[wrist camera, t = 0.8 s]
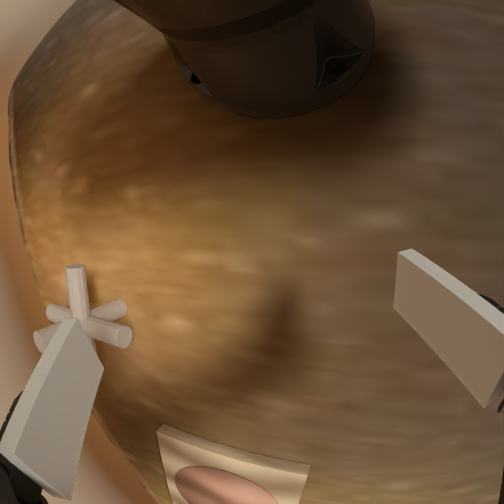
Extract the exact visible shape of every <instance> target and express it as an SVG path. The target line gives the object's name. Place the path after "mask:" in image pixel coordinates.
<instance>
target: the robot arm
mask: <svg viewBox="0 0 504 504" xmlns="http://www.w3.org/2000/svg"><path fill="white" fill-rule="evenodd" d="M113 1H115V2H116V3H118V4H120V5H121V6H123V7H124V8H126V9H128V10H129V11H131V12H132V13H134V14H135V15H137V16H138V17H140V18H141V19H143V20H145V21H146V22H147V23H149V24H151V25H152V26H153V27H155V28H156V29H158V30H159V31H160V32H161V33H162V34H163V36H164V38H165V40H166V41H167V43H168V45H169V47H170V49H171V51H172V53H173V55H174V57H175V59H176V61H177V63H178V65H179V67H180V70H181V71H182V73H183V75H184V76H185V78H186V79H187V80H188V82H189V83H190V84H191V85H192V86H193V87H194V88H195V89H196V90H197V91H198V92H200V93H201V94H202V95H204V96H205V97H207V98H208V99H210V100H211V101H213V102H214V103H216V104H217V105H219V106H221V107H222V108H224V109H227V110H229V111H231V112H234V113H237V114H241V115H245V116H250V117H258V118H281V117H289V116H295V115H299V114H303V113H306V112H310V111H313V110H315V109H318V108H320V107H322V106H325V105H327V104H329V103H330V102H332V101H334V100H336V99H337V98H339V97H340V96H342V95H343V94H344V93H346V92H347V91H348V90H349V89H350V88H351V87H352V86H353V85H354V84H355V83H356V82H357V81H358V80H359V79H360V77H361V76H362V75H363V73H364V72H365V70H366V68H367V66H368V64H369V62H370V60H371V57H372V53H373V49H374V38H375V21H374V16H373V12H372V9H371V5H370V3H369V1H368V0H113ZM393 308H394V309H395V310H396V311H397V312H398V313H399V314H400V315H401V316H402V317H403V318H404V319H405V321H406V322H407V323H408V324H409V325H410V326H411V327H412V328H413V329H414V330H415V331H416V332H417V333H418V334H419V335H420V336H421V337H422V339H423V340H424V341H425V342H426V343H427V344H428V345H429V346H430V347H431V348H432V349H433V350H434V352H435V353H436V354H437V355H438V356H439V357H440V358H441V359H442V360H443V362H444V363H445V364H446V365H447V366H448V367H449V368H450V369H451V371H452V372H453V373H454V374H455V375H456V376H457V377H458V379H459V380H460V381H461V382H462V383H463V384H464V386H465V387H466V388H467V389H468V390H469V391H470V393H471V394H472V395H473V396H474V397H475V399H476V400H477V401H478V402H479V403H480V405H481V406H482V407H483V408H485V407H486V406H487V405H489V404H490V403H492V402H493V401H494V400H496V399H497V398H498V397H499V395H500V393H501V391H502V390H503V388H504V308H502V307H500V305H499V304H497V303H496V302H495V301H493V300H492V299H491V298H488V297H486V296H483V295H481V294H477V293H475V292H474V291H473V290H471V289H470V288H469V287H467V286H466V285H465V284H463V283H462V282H460V281H459V280H458V279H456V278H455V277H453V276H452V275H450V274H449V273H448V272H446V271H445V270H443V269H442V268H440V267H439V266H437V265H436V264H434V263H433V262H432V261H430V260H429V259H427V258H426V257H424V256H423V255H421V254H420V253H418V252H416V251H415V250H413V249H408V250H404V251H400V252H398V256H397V273H396V285H395V296H394V306H393ZM103 371H104V367H103V365H102V363H101V362H100V360H99V358H98V356H97V354H96V353H95V351H94V349H93V347H92V345H91V343H90V341H89V339H88V337H87V335H86V333H85V331H84V329H83V327H82V325H81V323H80V321H79V319H78V318H71V319H64V320H63V321H62V322H61V324H60V326H59V327H58V329H57V331H56V332H55V334H54V336H53V337H52V339H51V341H50V342H49V344H48V346H47V348H46V349H45V351H44V353H43V355H42V357H41V359H40V360H39V362H38V364H37V366H36V368H35V369H34V371H33V373H32V375H31V377H30V379H29V381H28V383H27V385H26V387H25V389H24V390H23V391H22V392H21V393H20V394H19V395H18V397H17V398H16V399H15V400H14V402H13V404H12V406H11V408H10V410H9V411H10V413H8V415H7V417H6V421H4V423H3V426H2V428H1V430H0V504H48V502H47V500H46V499H45V498H44V496H42V495H41V492H42V489H44V490H45V491H46V492H48V493H49V494H51V495H52V496H54V497H58V498H63V499H67V500H71V497H72V491H73V486H74V481H75V476H76V471H77V466H78V462H79V457H80V453H81V449H82V444H83V440H84V436H85V432H86V428H87V425H88V421H89V417H90V414H91V410H92V407H93V403H94V400H95V396H96V393H97V390H98V386H99V383H100V380H101V377H102V374H103ZM503 407H504V399H503V401H502V402H501V404H500V406H499V407H498V412H499V413H500V412H501V410H502V408H503ZM503 413H504V412H503ZM498 504H504V469H503V477H502V484H501V491H500V497H499V503H498Z"/></svg>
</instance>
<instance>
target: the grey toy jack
mask: <svg viewBox="0 0 504 504" xmlns="http://www.w3.org/2000/svg"><path fill="white" fill-rule="evenodd" d="M65 272H66V282H67V290H68V298H69V305H70V308H68V307H65V306H62V305H59V304H56V303H51V304H50V305H48V307H47V309H46V316H47V318H48V319H49V320H50V321H52V322H54V323H55V324H53V325H50V326H48V327H45V328H43V329H40V330H38V331H35V332H34V334H33V336H34V337H33V338H34V342H35V345H36V347H37V348H38V350H39V351H40V352H41V353H42V354H43V353H44V351H45V349H46V348H47V346H48V344H49V342H50V341H51V339H52V337H53V336H54V334H55V332H56V331H57V329H58V327H59V326H60V324H61V322H62V321H63V320H64V319H71V318H78V319H79V321H80V323H81V325H82V327H83V329H84V331H85V333H86V335H87V337H88V339H89V341H90V343H91V345H92V347H93V349H94V351H95V353H96V354H97V349H96V343H95V339H96V340H99V341H102V342H105V343H107V344H110V345H113V346H116V347H119V348H122V349H124V348H127V347H128V346H129V345H130V343H131V340H132V331H131V328H129V327H128V326H126V325H122V324H119V323H115V322H113V321H116V320H118V319H120V318H122V317H124V316H125V315H126V314H127V307H126V304H125V303H124V302H123V301H122V300H121V299H116V300H113V301H111V302H108V303H106V304H103V305H101V306H98V307H96V308H93V309H90V305H89V297H88V288H87V278H86V267H85V265H83V264H75V265H69V266H66V267H65ZM97 356H98V354H97Z"/></svg>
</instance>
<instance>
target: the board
mask: <svg viewBox="0 0 504 504" xmlns="http://www.w3.org/2000/svg"><path fill="white" fill-rule="evenodd" d="M156 433H157V438H158V443H159V448H160V453H161V458H162V462H163V467H164V471H165V476H166V480H167V484H168V488H169V492H170V496H171V499H172V503H173V504H298V503H299V500H300V497H301V494H302V491H303V488H304V485H305V482H306V479H307V476H308V472H309V468H310V465H309V464H303V463H297V462H292V461H287V460H282V459H277V458H272V457H268V456H263V455H259V454H255V453H251V452H247V451H244V450H240V449H236V448H233V447H229V446H226V445H222V444H219V443H216V442H213V441H210V440H207V439H204V438H201V437H198V436H195V435H192V434H189V433H186V432H184V431H181V430H178V429H176V428H173V427H171V426H168V425H166V424H163V425H162V426H161V427H160V428H159V429H158V430H157V431H156Z"/></svg>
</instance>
